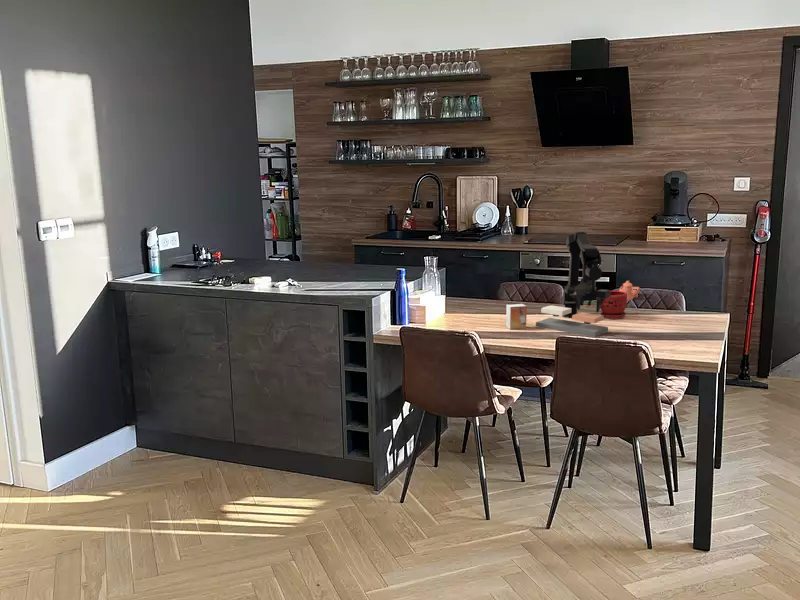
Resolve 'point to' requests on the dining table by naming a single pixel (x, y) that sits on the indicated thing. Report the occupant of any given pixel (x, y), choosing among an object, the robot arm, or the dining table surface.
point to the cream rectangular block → (556, 310)
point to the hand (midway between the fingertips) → (587, 311)
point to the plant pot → (614, 305)
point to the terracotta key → (587, 317)
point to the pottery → (629, 290)
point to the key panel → (572, 327)
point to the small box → (516, 316)
